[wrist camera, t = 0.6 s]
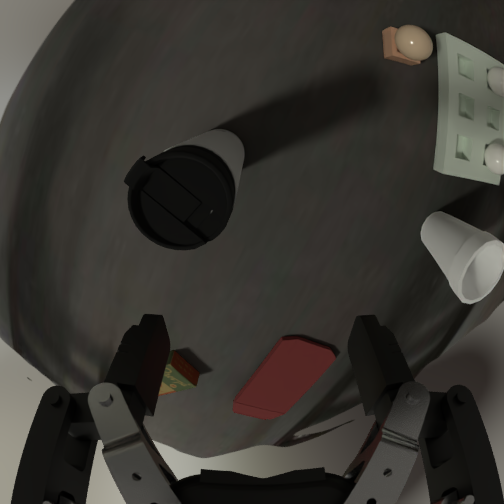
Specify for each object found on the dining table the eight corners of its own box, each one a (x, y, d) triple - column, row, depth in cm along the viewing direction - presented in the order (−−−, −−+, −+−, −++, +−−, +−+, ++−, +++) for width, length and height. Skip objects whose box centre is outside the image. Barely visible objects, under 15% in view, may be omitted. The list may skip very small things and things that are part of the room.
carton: (123, 365, 53) (117, 379, 49) (174, 347, 49) (169, 364, 45) (147, 385, 56) (143, 400, 53) (200, 371, 52) (197, 388, 49)
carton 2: (282, 319, 50) (225, 397, 57) (286, 335, 45) (225, 413, 52) (332, 338, 52) (271, 409, 60) (340, 353, 48) (273, 424, 55)
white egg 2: (480, 137, 27) (501, 143, 23) (497, 143, 27) (517, 150, 23) (476, 167, 29) (496, 176, 25) (493, 171, 29) (513, 181, 25)
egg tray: (435, 34, 22) (445, 32, 20) (495, 65, 22) (504, 65, 20) (433, 169, 32) (442, 173, 30) (489, 180, 32) (498, 185, 30)
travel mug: (215, 116, 30) (163, 123, 12) (255, 152, 32) (257, 206, 14) (181, 153, 32) (102, 208, 14) (220, 187, 34) (185, 276, 17)
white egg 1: (480, 62, 21) (501, 62, 17) (498, 72, 21) (518, 74, 17) (481, 90, 23) (502, 92, 19) (499, 99, 23) (519, 102, 19)
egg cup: (382, 30, 23) (390, 26, 21) (409, 38, 23) (418, 35, 21) (383, 58, 25) (392, 55, 23) (410, 65, 25) (420, 63, 23)
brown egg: (386, 24, 21) (404, 15, 17) (418, 35, 21) (438, 28, 17) (388, 57, 24) (407, 52, 19) (420, 66, 23) (441, 63, 19)
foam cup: (410, 260, 39) (450, 311, 28) (413, 205, 35) (465, 247, 23) (453, 249, 38) (496, 293, 27) (459, 199, 34) (512, 235, 22)
